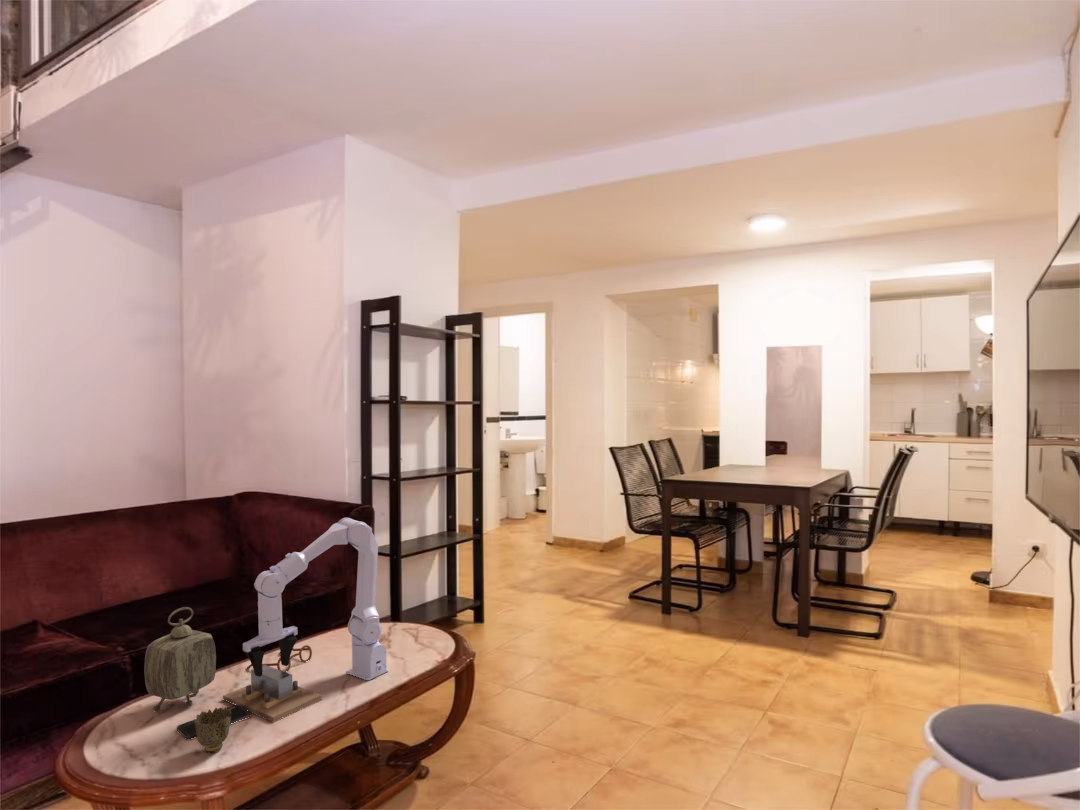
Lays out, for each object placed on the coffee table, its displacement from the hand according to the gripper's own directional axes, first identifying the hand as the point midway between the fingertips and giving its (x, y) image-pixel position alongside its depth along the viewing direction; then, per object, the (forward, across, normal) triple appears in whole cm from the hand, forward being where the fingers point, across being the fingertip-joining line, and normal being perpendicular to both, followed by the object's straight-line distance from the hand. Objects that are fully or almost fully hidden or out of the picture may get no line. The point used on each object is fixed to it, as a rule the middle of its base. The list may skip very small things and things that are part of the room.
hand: (271, 670), depth 173 cm
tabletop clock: (+8, +14, -17) cm, 23 cm away
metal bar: (+6, 0, 0) cm, 6 cm away
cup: (+8, +22, +11) cm, 26 cm away
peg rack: (+8, 0, 0) cm, 8 cm away
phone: (+8, +15, -1) cm, 17 cm away
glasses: (+8, -15, -19) cm, 26 cm away
